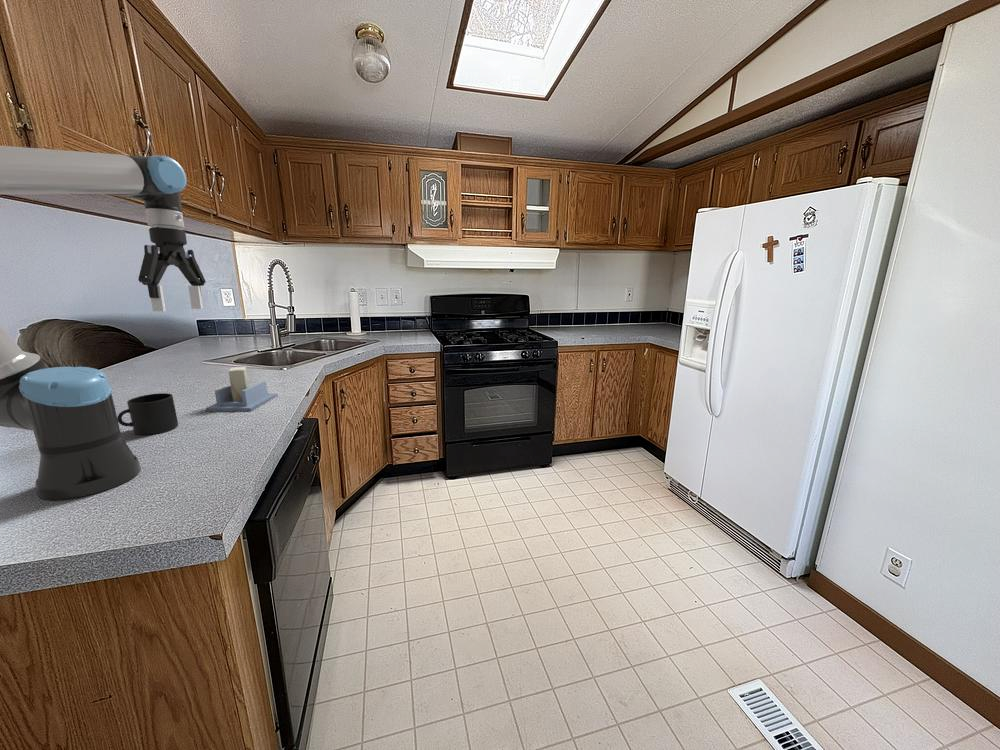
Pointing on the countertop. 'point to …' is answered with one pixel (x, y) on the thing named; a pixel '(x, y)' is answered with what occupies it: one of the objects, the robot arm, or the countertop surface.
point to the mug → (151, 414)
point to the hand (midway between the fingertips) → (179, 310)
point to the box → (238, 382)
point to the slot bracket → (250, 398)
